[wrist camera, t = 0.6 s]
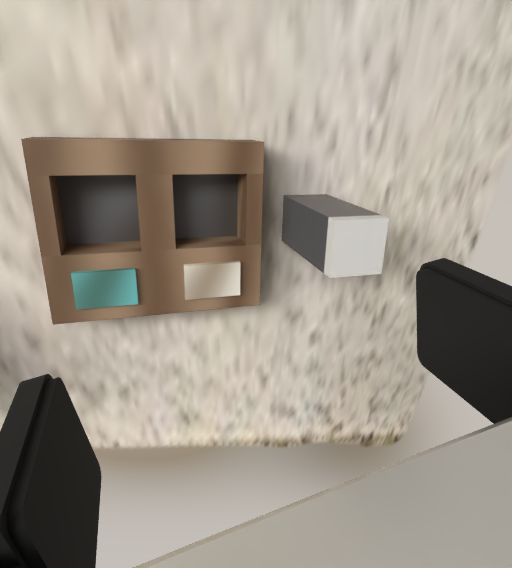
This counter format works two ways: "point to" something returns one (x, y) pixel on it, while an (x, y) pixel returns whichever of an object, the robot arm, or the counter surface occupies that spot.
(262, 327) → the counter surface
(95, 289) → the socket block
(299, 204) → the plug
